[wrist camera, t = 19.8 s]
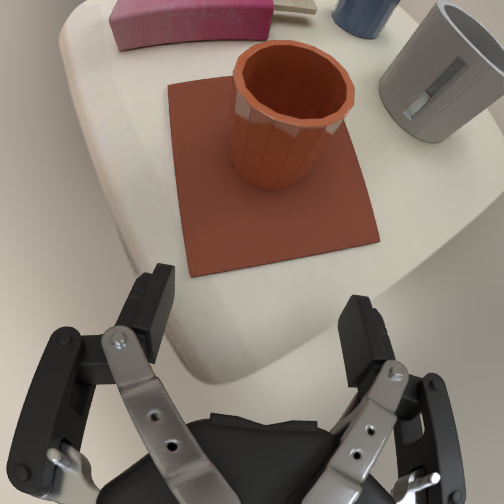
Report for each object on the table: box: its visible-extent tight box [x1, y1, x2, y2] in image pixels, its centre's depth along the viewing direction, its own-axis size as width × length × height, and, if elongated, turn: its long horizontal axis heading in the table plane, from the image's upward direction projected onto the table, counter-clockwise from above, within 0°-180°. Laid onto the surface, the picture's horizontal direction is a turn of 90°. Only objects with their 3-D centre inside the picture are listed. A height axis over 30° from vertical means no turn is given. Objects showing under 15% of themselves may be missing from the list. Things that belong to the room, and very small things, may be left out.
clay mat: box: [168, 76, 380, 278], centre depth 21 cm, size 14×16×1 cm
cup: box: [379, 0, 504, 143], centre depth 18 cm, size 9×9×12 cm
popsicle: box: [109, 0, 317, 51], centre depth 21 cm, size 9×5×20 cm
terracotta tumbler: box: [228, 40, 354, 190], centre depth 16 cm, size 6×6×8 cm
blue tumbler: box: [332, 0, 400, 39], centre depth 21 cm, size 6×6×8 cm
